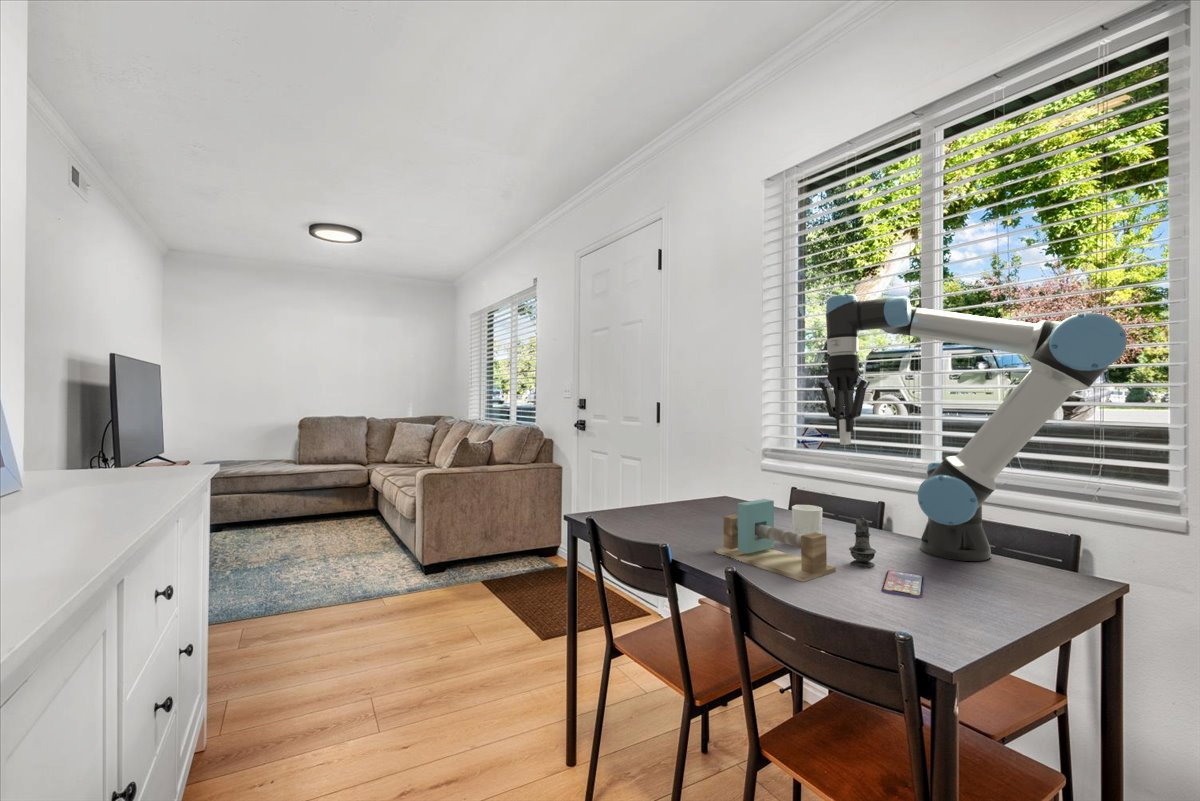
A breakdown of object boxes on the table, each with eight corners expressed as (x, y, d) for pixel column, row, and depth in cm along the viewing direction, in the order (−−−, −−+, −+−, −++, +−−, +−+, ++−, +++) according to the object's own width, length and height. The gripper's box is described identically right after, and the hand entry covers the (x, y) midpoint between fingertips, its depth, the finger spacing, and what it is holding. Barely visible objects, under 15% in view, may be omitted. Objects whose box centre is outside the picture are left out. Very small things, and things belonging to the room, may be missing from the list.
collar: (774, 547, 139) (773, 500, 139) (747, 553, 134) (746, 505, 134) (764, 544, 142) (764, 498, 142) (738, 551, 136) (737, 503, 136)
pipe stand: (835, 571, 126) (835, 532, 126) (803, 581, 119) (802, 540, 119) (745, 545, 148) (745, 512, 148) (714, 552, 142) (713, 518, 142)
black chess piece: (870, 561, 133) (870, 512, 133) (880, 568, 128) (880, 517, 128) (845, 560, 134) (845, 512, 134) (854, 568, 128) (853, 517, 128)
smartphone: (924, 579, 121) (922, 601, 109) (887, 573, 125) (880, 593, 113) (924, 575, 121) (922, 596, 109) (887, 569, 125) (880, 589, 113)
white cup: (786, 541, 153) (786, 505, 153) (812, 539, 154) (812, 504, 154) (802, 548, 145) (801, 511, 145) (828, 546, 146) (828, 509, 146)
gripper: (812, 356, 146) (814, 444, 146) (859, 351, 135) (862, 446, 135) (827, 357, 150) (830, 442, 150) (874, 352, 140) (877, 444, 140)
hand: (845, 444), depth 143 cm, fingers closed
